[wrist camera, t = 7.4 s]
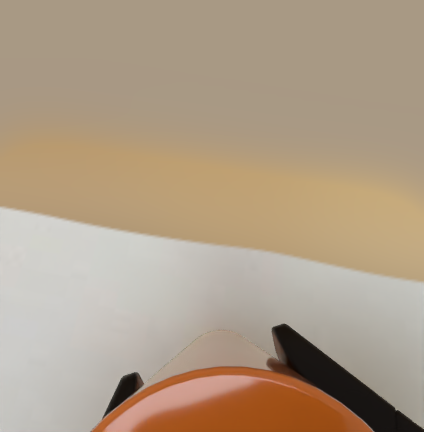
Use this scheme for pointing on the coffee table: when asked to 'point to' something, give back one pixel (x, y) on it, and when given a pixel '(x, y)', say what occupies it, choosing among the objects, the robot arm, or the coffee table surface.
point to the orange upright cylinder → (229, 395)
